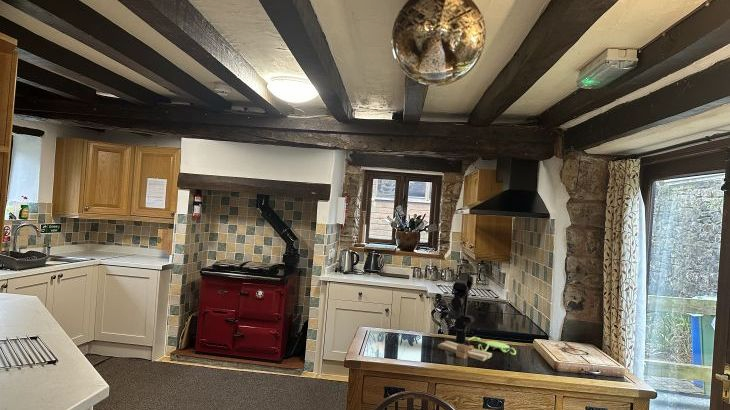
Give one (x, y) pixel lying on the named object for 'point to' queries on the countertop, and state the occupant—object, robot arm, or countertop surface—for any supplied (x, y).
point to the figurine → (494, 345)
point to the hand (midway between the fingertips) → (456, 331)
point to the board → (472, 352)
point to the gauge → (463, 350)
